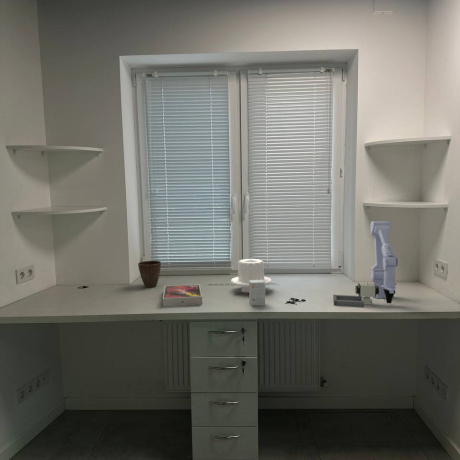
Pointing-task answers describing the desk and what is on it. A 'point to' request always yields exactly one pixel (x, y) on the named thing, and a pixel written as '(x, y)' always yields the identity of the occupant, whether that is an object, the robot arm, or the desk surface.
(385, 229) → the robot arm
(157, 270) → the plant pot
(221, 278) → the desk surface
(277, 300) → the desk surface
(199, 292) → the product packaging
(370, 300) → the pneumatic valve
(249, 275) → the ribbed cylinder on disc
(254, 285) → the small box
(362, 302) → the housing bracket
